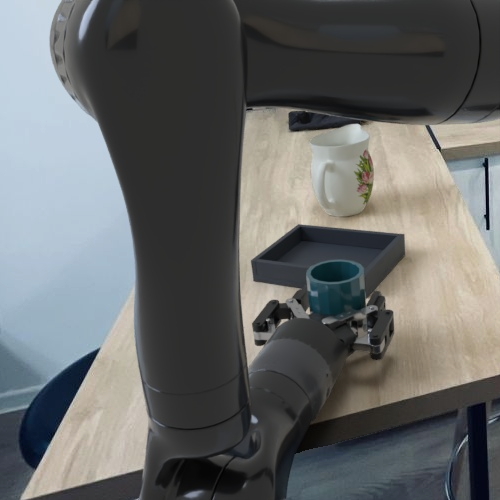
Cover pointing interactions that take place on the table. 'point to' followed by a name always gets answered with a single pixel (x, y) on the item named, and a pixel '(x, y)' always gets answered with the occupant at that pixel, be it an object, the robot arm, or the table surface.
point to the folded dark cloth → (316, 121)
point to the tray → (328, 254)
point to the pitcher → (342, 170)
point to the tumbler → (336, 287)
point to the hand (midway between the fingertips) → (342, 295)
